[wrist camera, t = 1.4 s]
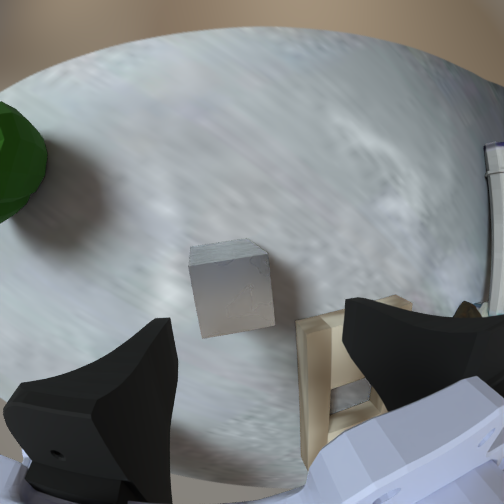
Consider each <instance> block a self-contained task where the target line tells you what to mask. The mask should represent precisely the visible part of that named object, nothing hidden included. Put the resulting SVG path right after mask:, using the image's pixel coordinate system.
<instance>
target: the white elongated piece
mask: <svg viewBox="0 0 504 504" xmlns="http://www.w3.org/2000/svg"><path fill="white" fill-rule="evenodd" d="M484 153H485V162H486V169H487V172H486V173H485V177H487V178H488V185H489V195H490V208H491V230H492V255H491V278H490V290H489V300H488V301H487V302H484V303H479V302H478V303H474V304H473V305H475V306H476V308H477V310H478V311H479V312H480V314H481V315H482V317H489V316H496V315H502V314H504V142H491V143H488V144H485V146H484Z"/></svg>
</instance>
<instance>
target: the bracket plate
mask: <svg viewBox="0 0 504 504" xmlns="http://www.w3.org/2000/svg"><path fill="white" fill-rule="evenodd" d="M375 301H377V302H381V303H384V304H388V305H391V306H394V307H398V308H402V309H405V310H409V311H412V303H411V302H409V301H407V300H405V299H403V298H401V297H399V296H397V295H393V296H389V297H386V298H382V299H379V300H375ZM344 312H345V309H342V310H338V311H334V312H330V313H326V314H322V315H318V316H314V317H309V318H305V319H301V320H296V321H295V326H296V342H297V359H298V380H299V404H300V437H301V458H302V460H303V462H304V464H305V466H306V468H307V470H308V471H309V467H310V466H311V464H312V463H313V461H314V460H315V458H316V457H317V455H318V453H319V452H320V450H321V449H322V448H323V447H324V446H325V445H326V444H328V443H329V442H330V441H332V440H333V439H334V438H336V437H337V436H338V435H339V434H341V433H342V432H343V431H344V430H347V429H349V428H351V427H353V426H355V425H358V424H360V423H362V422H364V421H366V420H368V419H370V418H373V417H376V416H379V415H381V414H384V413H387V412H388V411H387V409H386V407H385V405H384V403H383V402H382V400H381V398H380V397H379V395H378V394H377V392H376V391H375V389H374V388H373V387H372V386H371V393H370V400H369V401H366V402H364V403H361V404H359V405H356V406H353V407H351V408H348V409H345V410H343V411H340V412H337V413H334V414H331V415H329V414H330V394H331V389H333V388H336V387H339V386H342V385H345V384H348V383H351V382H354V381H357V380H360V379H362V378H365V376H364V375H363V374H362V372H361V371H360V370H359V368H358V367H357V366H356V364H355V363H354V362H353V360H352V359H351V358H350V356H349V354H348V352H347V350H346V348H345V346H344V344H343V342H342V333H343V323H344Z"/></svg>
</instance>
